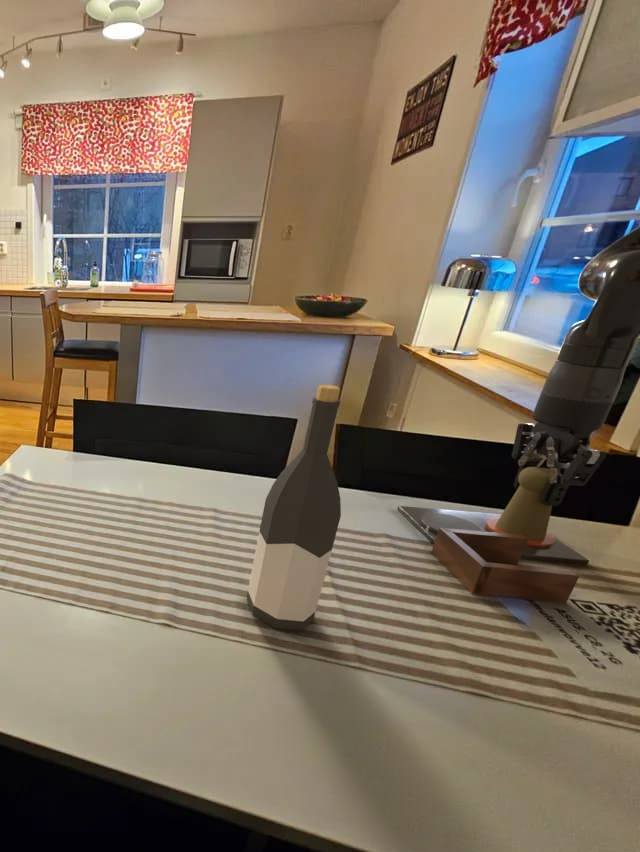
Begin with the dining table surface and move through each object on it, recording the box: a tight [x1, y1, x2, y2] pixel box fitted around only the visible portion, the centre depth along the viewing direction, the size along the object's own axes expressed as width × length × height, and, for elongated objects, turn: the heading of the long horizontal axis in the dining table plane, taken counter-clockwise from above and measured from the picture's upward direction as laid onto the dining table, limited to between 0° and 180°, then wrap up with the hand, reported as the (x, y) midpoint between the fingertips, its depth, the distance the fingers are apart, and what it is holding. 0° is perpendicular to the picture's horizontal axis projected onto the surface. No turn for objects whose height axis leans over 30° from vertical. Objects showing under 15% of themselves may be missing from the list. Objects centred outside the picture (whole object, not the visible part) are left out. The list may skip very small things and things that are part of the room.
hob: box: [397, 505, 590, 566], centre depth 82 cm, size 20×14×1 cm
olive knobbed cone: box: [496, 466, 563, 541], centre depth 79 cm, size 6×6×11 cm
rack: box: [430, 528, 580, 605], centre depth 71 cm, size 11×10×4 cm
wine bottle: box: [246, 384, 342, 632], centre depth 59 cm, size 8×8×30 cm
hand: (534, 495), depth 79 cm, fingers closed on olive knobbed cone, 5 cm apart
